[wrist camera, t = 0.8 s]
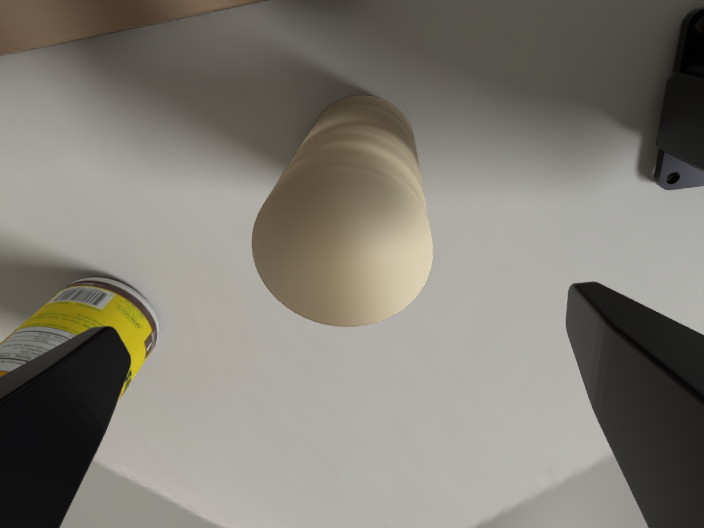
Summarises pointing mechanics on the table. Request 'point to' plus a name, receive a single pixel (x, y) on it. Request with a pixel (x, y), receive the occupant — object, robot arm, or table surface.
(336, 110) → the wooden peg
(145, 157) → the table surface
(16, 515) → the robot arm
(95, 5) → the collar socket
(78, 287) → the supplement bottle
